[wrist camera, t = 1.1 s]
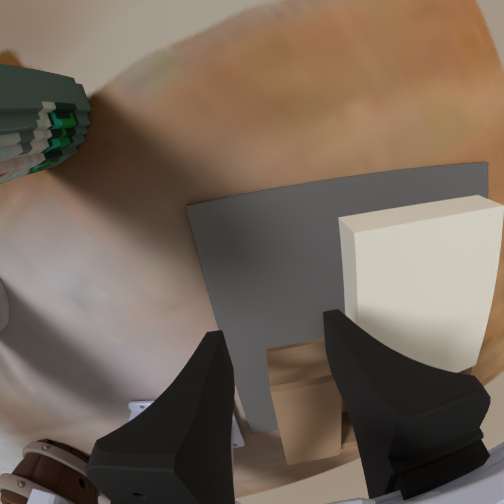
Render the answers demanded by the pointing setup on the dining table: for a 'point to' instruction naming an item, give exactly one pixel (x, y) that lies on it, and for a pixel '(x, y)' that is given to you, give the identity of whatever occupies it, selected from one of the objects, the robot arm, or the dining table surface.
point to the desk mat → (296, 260)
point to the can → (39, 120)
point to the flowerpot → (49, 475)
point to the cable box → (309, 402)
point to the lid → (424, 277)
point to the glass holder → (4, 307)
